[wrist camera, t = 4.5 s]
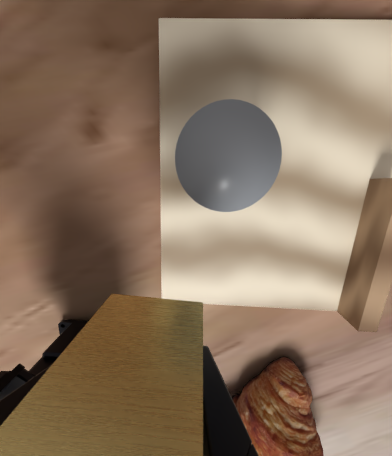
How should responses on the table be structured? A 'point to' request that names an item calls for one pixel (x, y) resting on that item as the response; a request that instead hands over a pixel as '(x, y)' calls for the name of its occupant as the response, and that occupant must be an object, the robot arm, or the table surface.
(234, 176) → the grey rounded knob
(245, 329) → the table surface
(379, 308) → the board
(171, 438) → the tab
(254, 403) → the pastry
